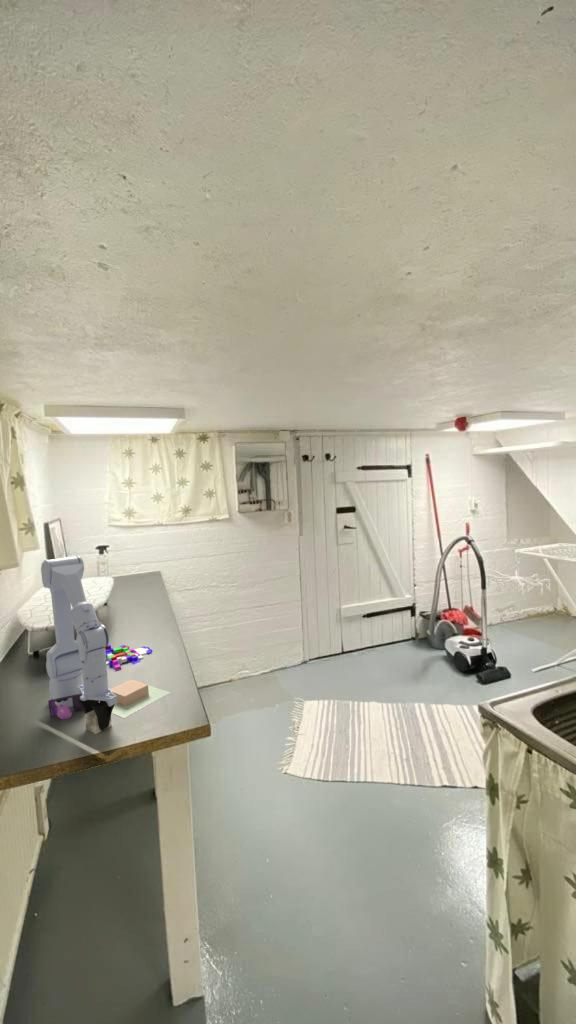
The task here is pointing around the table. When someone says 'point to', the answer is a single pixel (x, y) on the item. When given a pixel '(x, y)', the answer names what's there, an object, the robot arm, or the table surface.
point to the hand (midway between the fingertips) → (98, 725)
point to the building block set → (130, 656)
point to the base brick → (130, 692)
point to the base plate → (139, 702)
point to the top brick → (93, 722)
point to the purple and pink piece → (64, 706)
